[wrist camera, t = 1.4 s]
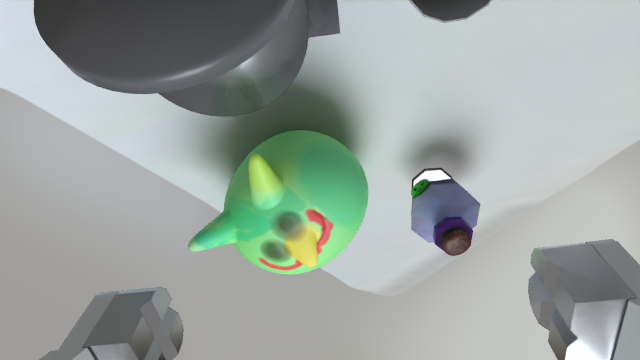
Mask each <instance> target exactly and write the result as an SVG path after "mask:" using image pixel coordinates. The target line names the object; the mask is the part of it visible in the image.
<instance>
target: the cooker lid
mask: <svg viewBox="0 0 640 360" xmlns="http://www.w3.org/2000/svg"><path fill="white" fill-rule="evenodd" d="M294 2H295V0H34V16H35V22H36V26H37V28H38V31H39V33H40V35H41V37H42V38H43V40H44V41H45V43H46V44H47V46H48V47H49V48H50V49H51V50H52V51H53V52H54V53H55V54H56V55H57V56H58V57H59V58H60V59H61V60H62V61H63V62H64V64H65V65H66V66H67V67H68V68H69V69H70V70H71V71H72V72H74V73H75V74H76V75H78V76H79V77H81V78H82V79H84V80H85V81H87V82H89V83H91V84H94V85H96V86H98V87H101V88H105V89H108V90H111V91H117V92H123V93H132V94H152V93H165V92H170V91H175V90H181V89H185V88H188V87H192V86H195V85H199V84H202V83H204V82H207V81H209V80H212V79H214V78H217V77H219V76H221V75H223V74H225V73H227V72H229V71H231V70H232V69H234V68H236V67H238V66H239V65H241V64H242V63H244V62H245V61H247V60H248V59H250V58H251V57H252V56H253V55H255V54H256V53H257V52H258V51H259V50H261V49H262V48H263V47H264V46H265V45H266V44H267V43H268V42H269V41H270V40H271V39H272V38H273V37H274V36H275V35H276V33H277V32H278V31H279V29H280V28H281V27H282V25H283V24H284V23H285V21H286V19H287V17H288V15H289V13H290V12H291V10H292V7H293V4H294Z"/></svg>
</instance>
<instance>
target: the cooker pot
mask: <svg viewBox="0 0 640 360" xmlns="http://www.w3.org/2000/svg"><path fill="white" fill-rule="evenodd" d="M338 33H340V28H339V18H338V8H337V0H295V2H294V4H293V7H292V10H291V12H290V13H289V15H288V17H287V19H286V21H285V23H284V24H283V25H282V27H281V28H280V29H279V31H278V32H277V33H276V35H275V36H274V37H273V38H272V39H271V40H270V41H269V42H268V43H267V44H266V45H265V46H264V47H263V48H262V49H261V50H259V51H258V52H257V53H256V54H255V55H253V56H252V57H251V58H250V59H248V60H247V61H245V62H244V63H242V64H241V65H239V66H238V67H236V68H234V69H232V70H231V71H229V72H227V73H225V74H223V75H221V76H219V77H217V78H214V79H212V80H209V81H207V82H204V83H202V84H199V85H195V86H192V87H188V88H185V89H181V90H175V91H170V92H165V93H158V94H160V95H161V96H163V97H164V98H166V99H167V100H169V101H171V102H172V103H174V104H176V105H178V106H180V107H182V108H185V109H187V110H190V111H193V112H197V113H200V114H205V115H211V116H236V115H242V114H247V113H250V112H253V111H256V110H258V109H260V108H262V107H264V106H266V105H268V104H269V103H271V102H273V101H274V100H276V99H277V98H278V97H279V96H280V95H281V94H282V93H284V91H285V90H286V89H287V88H288V87H289V86H290V85H291V83H292V82H293V80H294V79H295V77H296V76H297V74H298V72H299V70H300V68H301V66H302V63H303V60H304V57H305V54H306V50H307V44H308V38H309V37H316V36H324V35H331V34H338Z"/></svg>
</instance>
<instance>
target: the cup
mask: <svg viewBox="0 0 640 360" xmlns="http://www.w3.org/2000/svg"><path fill="white" fill-rule="evenodd" d="M409 1H410V3H411V4H412V5H413V6H414V7H415V8H416V9H417V10H418V11H419V12H420V13H421V14H422V15H423V16H424V17H428V18H431V19H434V20H437V21H440V22H443V23H446V22H452V21H458V20H464V19H468V18H469V17H471V16H472V15H474V14H476V13H477V12H479V11H480V10H482V9H483V8H485V7H486V6H488V5H489V4H490V2H491V1H492V0H409Z"/></svg>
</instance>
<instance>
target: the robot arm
mask: <svg viewBox="0 0 640 360" xmlns="http://www.w3.org/2000/svg"><path fill="white" fill-rule="evenodd" d="M531 265H532V267H533V268H534V270H535V273H534V274H533V275H532V276H531V278H530V279H529V286H528V293H529V299H530V305H531V307H532V310H533V313H534V315H535V317H536V319H537V321H538V323H539V324H540V325H542V326H543V327H544V328H546V329H548V330H549V339H548V342H549V344H550V346H551V348H552V350H553V352H554V354H555V356H556V357H557V359H558V360H640V265H639V264H638V263H637V262H636V261H635V260H634V258H633V257H631V255H630V254H629V253H628V252H627V251H626V250H625V249H624V248H623V247H622V246H621V245H620V244H619V243H618V242H617V241H615V240H613V239H608V240H600V241H592V242H586V243H578V244H569V245H560V246H551V247H542V248H534V250H533V252H532V254H531ZM171 300H172V298H171V296H170V295H169V293H168V291H167V289H166V288H162V287H155V288H142V289H130V290H121V291H110V292H101V293H99V294H98V295H96V296H95V297H94V298H93V300H92V301H91V303H90V304H89V306H88V307H87V309H86V310H85V312H84V313H83V314H82V316H81V317H80V319H79V320H78V322H77V323H76V324H75V326H74V327H73V329H72V330H71V332H70V333H69V335H68V336H67V338H66V339H65V340H64V342H63V344H62V345H61V346H60V348H59V349H58V350H56V351H50V352H49V353H48V354H46V355H45V356H43V357H42V358H41V359H39V360H172V359H174V358H175V357H176V356H177V355H178V353H179V350H180V348H181V345H182V340H183V325H182V320H181V318H180V316H179V313H178V312H176V311H175V310H173V309H172V308H170V307H169V305H170V302H171Z"/></svg>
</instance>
